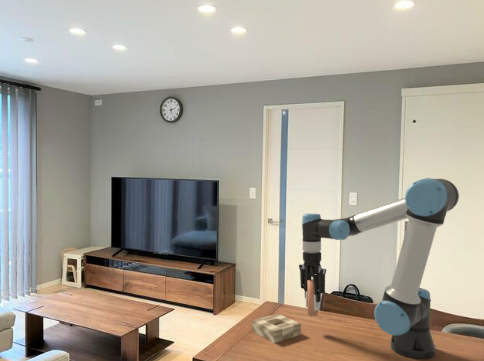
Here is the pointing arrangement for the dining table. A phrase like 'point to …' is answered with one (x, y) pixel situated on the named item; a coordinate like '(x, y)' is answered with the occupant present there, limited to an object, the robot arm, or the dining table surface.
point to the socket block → (276, 327)
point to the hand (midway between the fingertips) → (312, 308)
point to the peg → (311, 298)
